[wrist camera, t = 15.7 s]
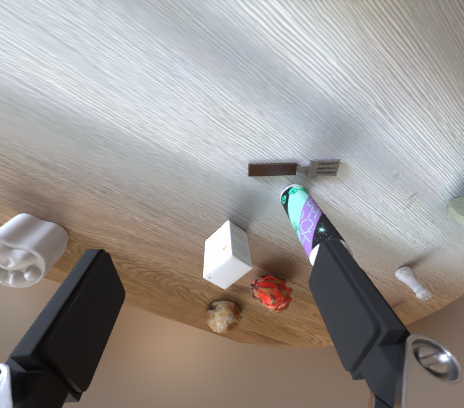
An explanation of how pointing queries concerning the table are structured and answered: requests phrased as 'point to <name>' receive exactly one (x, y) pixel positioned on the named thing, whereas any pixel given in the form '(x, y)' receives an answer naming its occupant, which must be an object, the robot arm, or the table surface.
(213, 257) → the small box
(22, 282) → the lumpy-topped squat cylinder
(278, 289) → the dragon fruit
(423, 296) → the rook chess piece
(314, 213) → the spray can
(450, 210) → the spool
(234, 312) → the bread roll
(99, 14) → the table surface
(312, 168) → the fork
